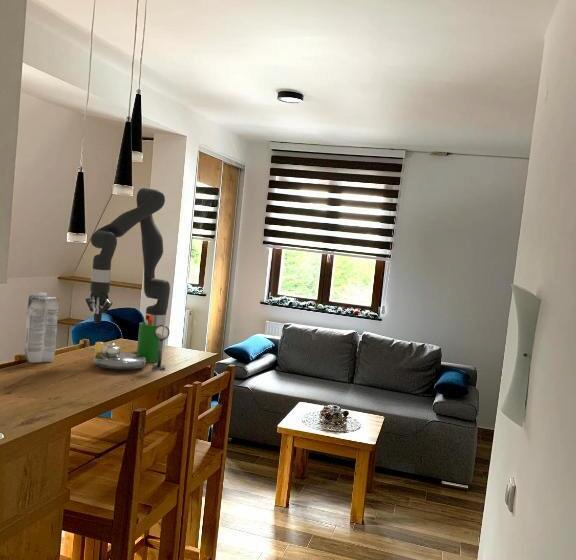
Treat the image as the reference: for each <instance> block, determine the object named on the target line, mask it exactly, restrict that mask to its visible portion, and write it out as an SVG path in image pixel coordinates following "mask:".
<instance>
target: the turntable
mask: <svg viewBox="0 0 576 560" xmlns="http://www.w3.org/2000/svg"><path fill="white" fill-rule="evenodd" d="M104 345H105V344H104V341H103V342H102V341H95V348H94V356H93V365H95V366H98V367H100V368H106V369H108V368H111V369H110V370H112V369H130V370H134V369H135V370H137V369H140V368H143V367H145V366H146V363H147V362H146V358H145V357H143V356H141V355H137V353H129V352H120V356H119V357H105V356H103V346H104Z"/></svg>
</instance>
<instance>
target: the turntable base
mask: <svg viewBox="0 0 576 560" xmlns="http://www.w3.org/2000/svg"><path fill="white" fill-rule="evenodd" d="M107 369H109V370H114V371H129V369H111V368H107Z"/></svg>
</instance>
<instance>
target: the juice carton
mask: <svg viewBox="0 0 576 560" xmlns="http://www.w3.org/2000/svg"><path fill="white" fill-rule="evenodd" d="M27 300H28V303H27V311H26V322H25V323H26V324H25V336H24V337H25V338H24V340H25V341H24V355H25V356H24V357H25V359H26V360H27V361H28V362H29V363H33V364H34V363H37V364H38V363H52V362H53V360H54V357H55V353H56V342H57V330H58V318H59V317H58V316H59V298H57V297H55V296H54V295H47V292H38V295H34V294H33V295H32V294H31V295H29V296H28V299H27Z"/></svg>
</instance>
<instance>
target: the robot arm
mask: <svg viewBox="0 0 576 560" xmlns="http://www.w3.org/2000/svg"><path fill="white" fill-rule="evenodd" d="M135 199H136V207H135V208H131V209H130V210H127V211H125V212H123V213H122V214H120V215H118V216H117V217H116V218H115V219H113V220H112V221H111V222H110V223H108V224H106V225H104V226H102V227H100V228H98V229H97V230H95V231H94V232H93V234H92V235H91V237H90V243H91V245H92V246H93V247H94V248H96V249H101V250H100V253H99V254H95V255H94V256H93V259H92V271H91V276H90V277H91V278H90V285H89V286H90V290H89V291H90V295H89V297H88V298H85V303H86V305H87V307H88V309H89V311H90V312H93V322H94V324H100V323H102V318H103V317H102V316H103V314H106V313H107V312H108V310H110V308H111V307H112V305H113V301H110V299H109V293H110V287H111V279H112V278H111V277H112V275H111V271H112V270H111V267H112V260H113V257H114V254H115V251H116V248H117V245H118V238H121V237H122V236H124V235H125V234H126V233H128V232H129V231H130V230H131V229H132V228H133V227H134V226H136V225H137V224H139V223H140V233H141V234H140V235H141V247H142V248H141V249H142V257H143V258H142V259H143V292H144V295H145V297H146V298H148V299H154V300H156V303H155V304H153V305H149V306H147V307H146V309H145V318H144V319H146V315H147V314H150V315H153V325H154V326H159V325H165V326H166V321H167V319H166V318H167V310H168V308H169V300H170V294H171V285H170V282H169V281H168V280H166V279H159V278H156V274H155V273H156V272H155V271H156V267H157V265H158V263H159V262H160V260H161V259H162V256H163V255H164V242H163V241H164V239H163V235H162V234H161V231H160V229H159V228H158V226H157V224H156V223H155V221H154V218H153V214H155V213H157V212H158V211H159V210H161V209H162V208H163V207H164V205H165V202H166V198H165V194H164V193H163V192H162V191H161V190H159V189H154V188H146V187H143V188H140V189H139V190H138V191H137V194H136V198H135ZM144 322H146V325H148V320H145V321H144ZM165 345H166V339H165V340H163V349H162V352H163V351H165Z"/></svg>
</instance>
